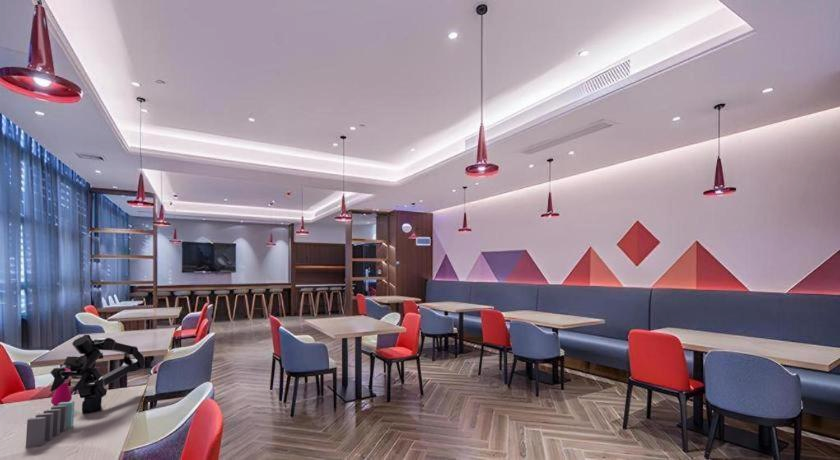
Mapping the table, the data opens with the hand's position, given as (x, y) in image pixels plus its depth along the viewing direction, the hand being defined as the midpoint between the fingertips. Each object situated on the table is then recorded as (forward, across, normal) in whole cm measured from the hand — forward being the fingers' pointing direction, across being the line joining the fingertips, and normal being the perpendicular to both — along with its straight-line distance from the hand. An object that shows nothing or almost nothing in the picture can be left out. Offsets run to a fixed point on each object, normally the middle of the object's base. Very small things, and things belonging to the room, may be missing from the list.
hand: (62, 391), depth 169 cm
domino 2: (+20, +6, +2) cm, 21 cm away
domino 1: (+23, +7, 0) cm, 24 cm away
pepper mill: (-6, -16, +23) cm, 29 cm away
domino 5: (+10, +4, +10) cm, 15 cm away
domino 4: (+14, +5, +7) cm, 16 cm away
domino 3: (+17, +6, +5) cm, 18 cm away
